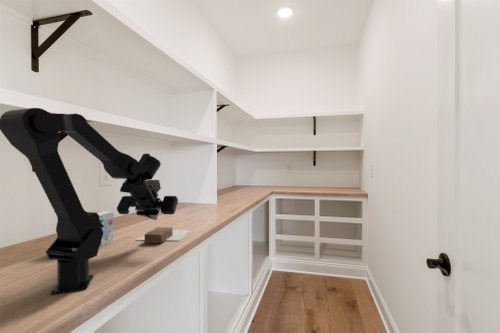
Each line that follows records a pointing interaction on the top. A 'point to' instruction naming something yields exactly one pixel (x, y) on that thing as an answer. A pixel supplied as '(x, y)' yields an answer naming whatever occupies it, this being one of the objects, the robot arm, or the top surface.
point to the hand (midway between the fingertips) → (156, 218)
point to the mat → (176, 235)
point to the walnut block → (158, 235)
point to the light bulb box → (106, 226)
